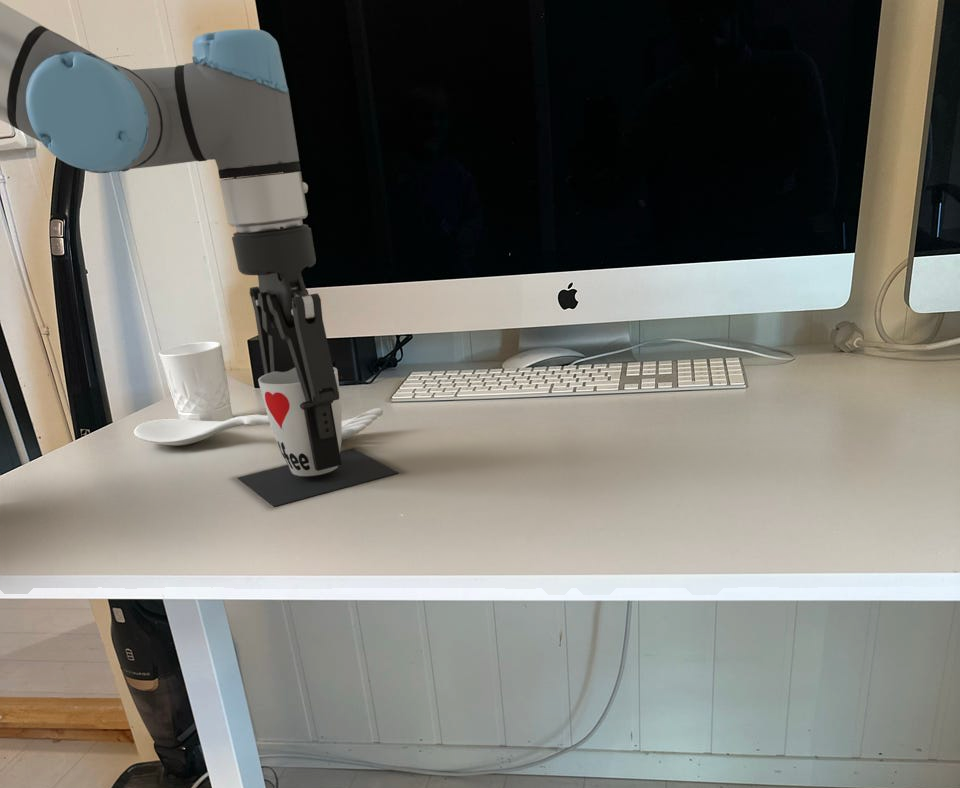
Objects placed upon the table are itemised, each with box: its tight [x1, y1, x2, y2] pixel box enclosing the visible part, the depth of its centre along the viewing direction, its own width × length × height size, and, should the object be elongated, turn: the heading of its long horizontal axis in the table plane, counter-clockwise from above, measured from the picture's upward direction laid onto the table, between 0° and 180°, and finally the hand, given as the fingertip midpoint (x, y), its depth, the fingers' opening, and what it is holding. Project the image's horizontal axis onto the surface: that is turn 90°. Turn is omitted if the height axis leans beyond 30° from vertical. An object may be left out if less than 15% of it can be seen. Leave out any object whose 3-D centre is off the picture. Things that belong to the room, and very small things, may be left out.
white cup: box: [158, 341, 234, 422], centre depth 119 cm, size 8×8×10 cm
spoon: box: [133, 407, 384, 447], centre depth 111 cm, size 9×32×4 cm, turn 72°
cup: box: [257, 366, 342, 476], centre depth 95 cm, size 8×8×10 cm
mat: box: [237, 448, 399, 508], centre depth 98 cm, size 14×12×1 cm
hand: (313, 457), depth 97 cm, fingers closed on cup, 8 cm apart
